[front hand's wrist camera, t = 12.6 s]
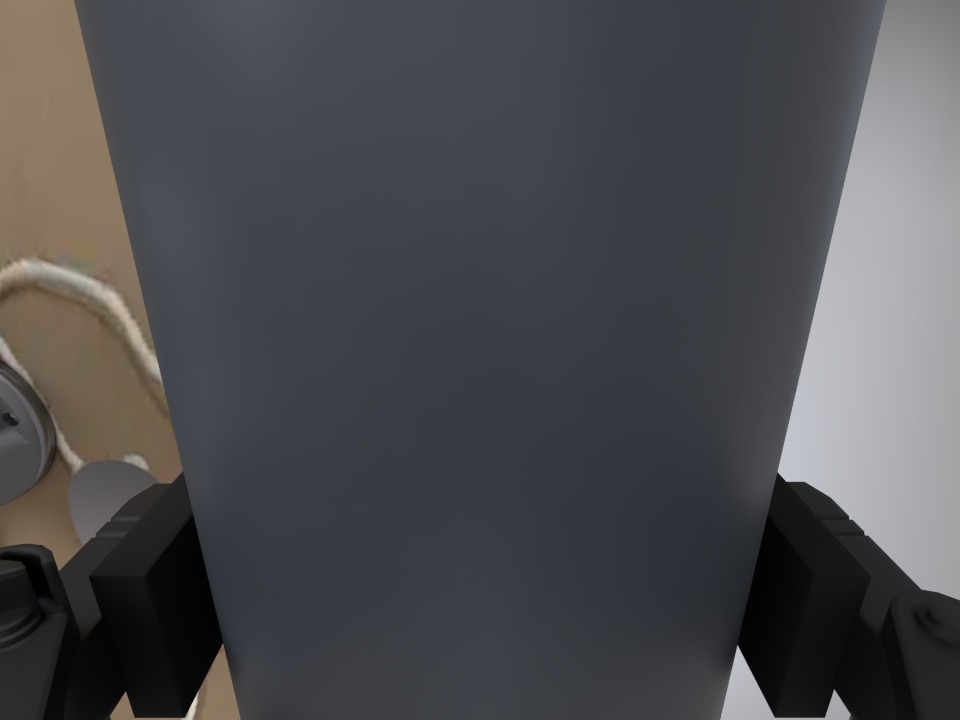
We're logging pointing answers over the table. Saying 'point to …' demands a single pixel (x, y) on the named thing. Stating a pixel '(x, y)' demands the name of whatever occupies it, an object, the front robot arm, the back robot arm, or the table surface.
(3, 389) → the front robot arm
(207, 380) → the rod
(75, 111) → the table surface
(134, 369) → the table surface
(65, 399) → the table surface
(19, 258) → the table surface
